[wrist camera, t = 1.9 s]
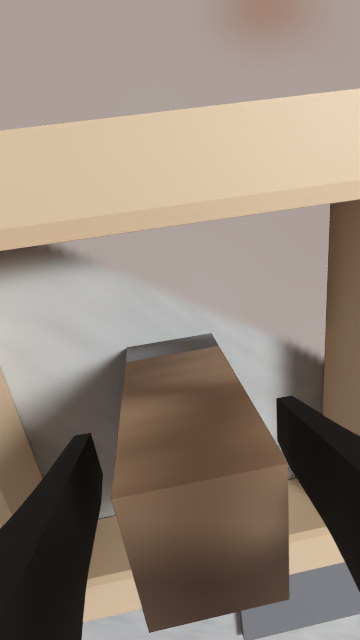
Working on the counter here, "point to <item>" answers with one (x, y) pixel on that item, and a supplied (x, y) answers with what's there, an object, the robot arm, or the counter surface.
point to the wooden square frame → (184, 208)
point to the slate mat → (306, 603)
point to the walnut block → (198, 487)
